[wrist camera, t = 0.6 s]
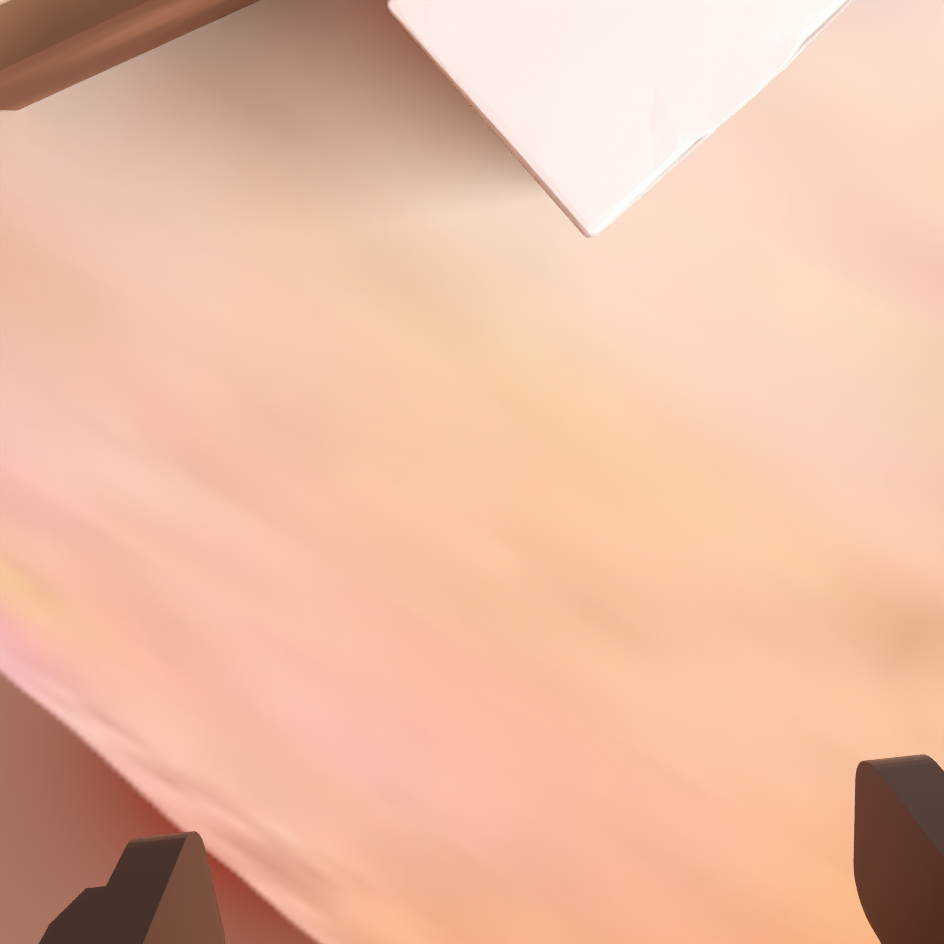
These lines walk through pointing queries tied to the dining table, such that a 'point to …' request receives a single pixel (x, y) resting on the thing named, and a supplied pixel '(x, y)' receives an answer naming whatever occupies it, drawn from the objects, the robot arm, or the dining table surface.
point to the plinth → (87, 39)
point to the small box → (609, 81)
